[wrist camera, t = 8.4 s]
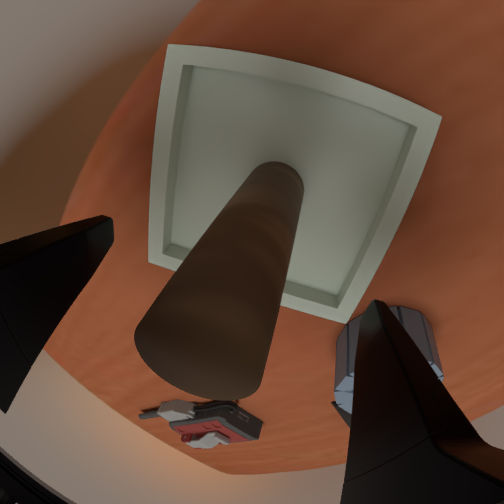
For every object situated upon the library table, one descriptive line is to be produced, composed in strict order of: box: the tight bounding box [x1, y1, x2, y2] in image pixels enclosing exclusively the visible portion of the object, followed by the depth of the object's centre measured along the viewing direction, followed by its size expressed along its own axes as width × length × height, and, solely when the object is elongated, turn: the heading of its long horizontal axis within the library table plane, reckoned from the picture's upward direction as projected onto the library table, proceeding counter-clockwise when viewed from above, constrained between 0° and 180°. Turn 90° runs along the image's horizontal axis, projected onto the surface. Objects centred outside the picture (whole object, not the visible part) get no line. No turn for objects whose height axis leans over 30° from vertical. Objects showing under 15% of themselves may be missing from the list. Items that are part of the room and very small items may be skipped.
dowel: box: [134, 161, 304, 401], centre depth 11 cm, size 3×3×11 cm
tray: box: [148, 44, 442, 324], centre depth 15 cm, size 13×13×2 cm
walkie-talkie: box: [139, 399, 263, 449], centre depth 33 cm, size 9×4×20 cm
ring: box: [334, 306, 444, 414], centre depth 18 cm, size 7×7×4 cm
